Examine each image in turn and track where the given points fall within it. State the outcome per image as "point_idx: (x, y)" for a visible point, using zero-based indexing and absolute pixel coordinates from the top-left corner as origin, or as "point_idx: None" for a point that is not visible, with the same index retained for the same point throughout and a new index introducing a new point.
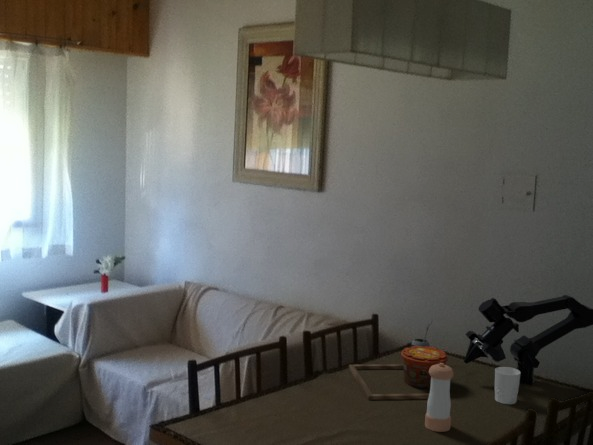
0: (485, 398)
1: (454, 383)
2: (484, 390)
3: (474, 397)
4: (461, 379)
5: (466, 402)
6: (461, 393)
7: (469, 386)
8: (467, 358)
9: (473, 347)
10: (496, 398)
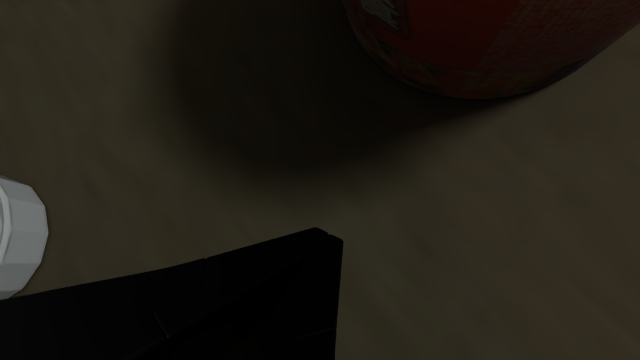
0: (81, 157)
1: (358, 166)
2: (159, 259)
3: (126, 109)
4: (400, 283)
5: (110, 20)
6: (207, 82)
7: (262, 221)
8: (271, 244)
9: (73, 330)
10: (6, 178)
